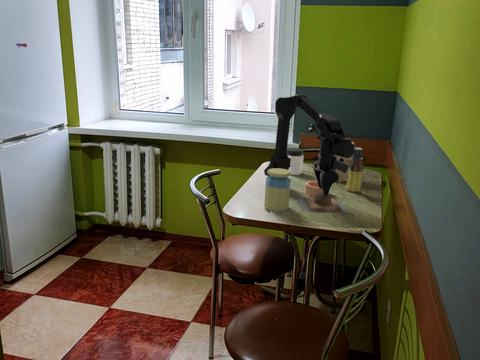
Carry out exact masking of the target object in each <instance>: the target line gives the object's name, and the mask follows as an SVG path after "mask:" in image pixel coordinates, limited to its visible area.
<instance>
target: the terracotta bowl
mask: <svg viewBox="0 0 480 360" xmlns="http://www.w3.org/2000/svg"><path fill="white" fill-rule="evenodd" d="M304 183H305V184H304V195H306V196H308V197H313V198H314V194H315V193H323V189H320V188H319V186H318V182H317V180H311V181H310V180H309V181H306V182H304ZM330 191H331V189H330V190H329V193H330ZM330 194H331V193H330Z"/></svg>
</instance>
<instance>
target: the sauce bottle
mask: <svg viewBox="0 0 480 360" xmlns="http://www.w3.org/2000/svg"><path fill="white" fill-rule="evenodd" d="M354 148H355V151H354V154H353V156H352V159H351V162H350V164H349V168H348V175H347V181H346V184H345V185H346V186H345V189H346V190H345V191H347V192H349V193H353V194H357V193H361V190H362V182H363V174H364V173H363V172H364V163H363V160H362V154H363V148H362V147H354Z"/></svg>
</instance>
